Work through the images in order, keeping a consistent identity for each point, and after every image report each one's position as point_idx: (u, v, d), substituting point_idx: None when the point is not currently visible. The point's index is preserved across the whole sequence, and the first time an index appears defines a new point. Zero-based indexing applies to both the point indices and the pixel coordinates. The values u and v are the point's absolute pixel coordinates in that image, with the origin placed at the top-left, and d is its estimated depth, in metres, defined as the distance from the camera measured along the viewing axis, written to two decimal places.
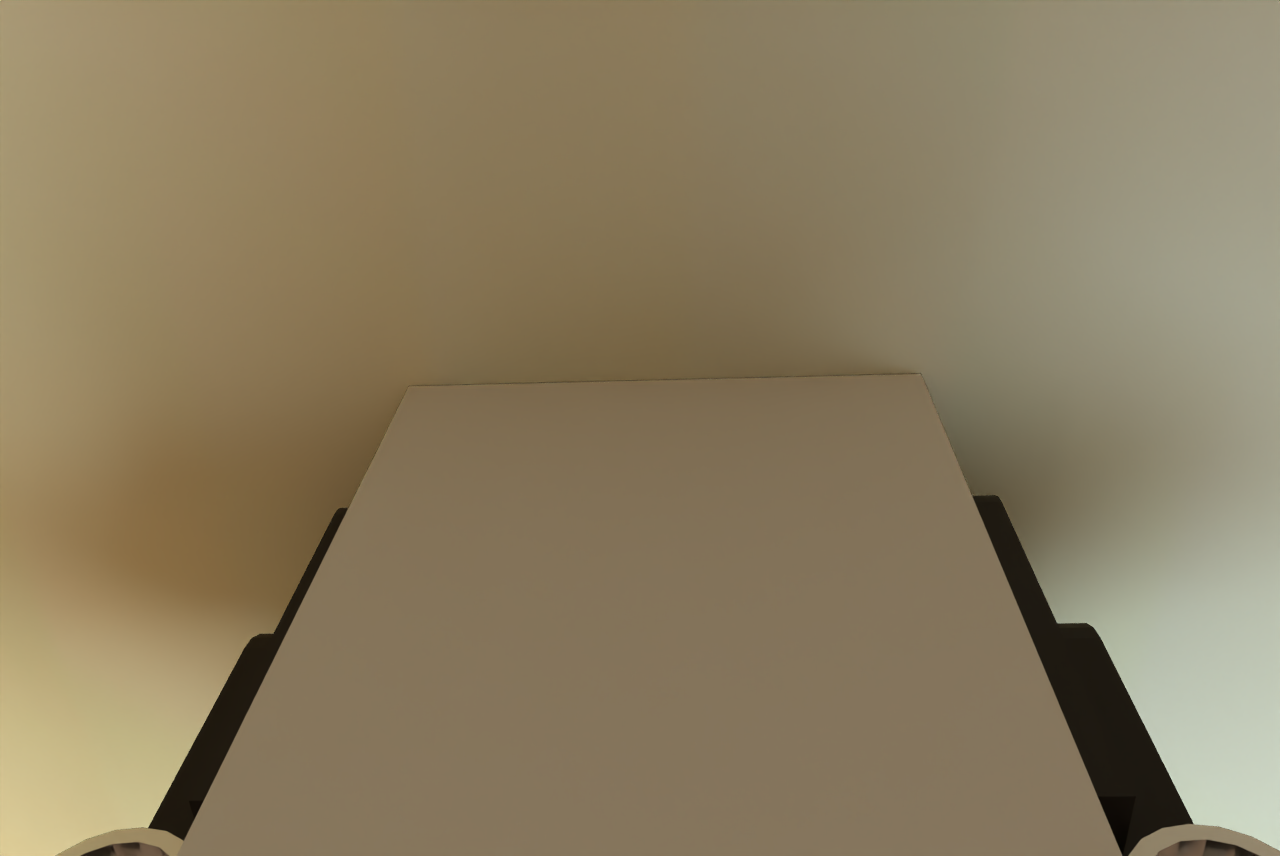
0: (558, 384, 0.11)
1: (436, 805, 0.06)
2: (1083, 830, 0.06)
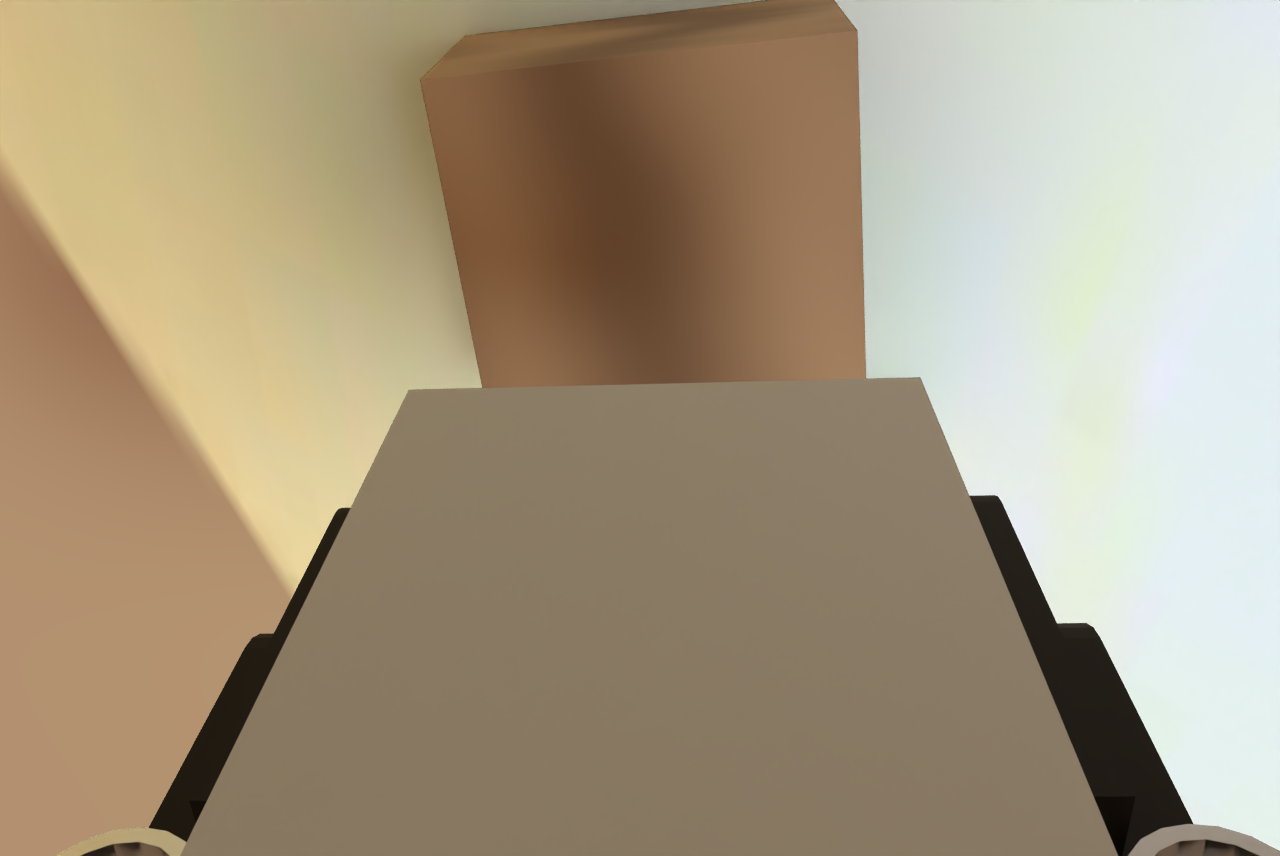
0: (558, 388, 0.11)
1: (435, 811, 0.06)
2: (1081, 836, 0.06)
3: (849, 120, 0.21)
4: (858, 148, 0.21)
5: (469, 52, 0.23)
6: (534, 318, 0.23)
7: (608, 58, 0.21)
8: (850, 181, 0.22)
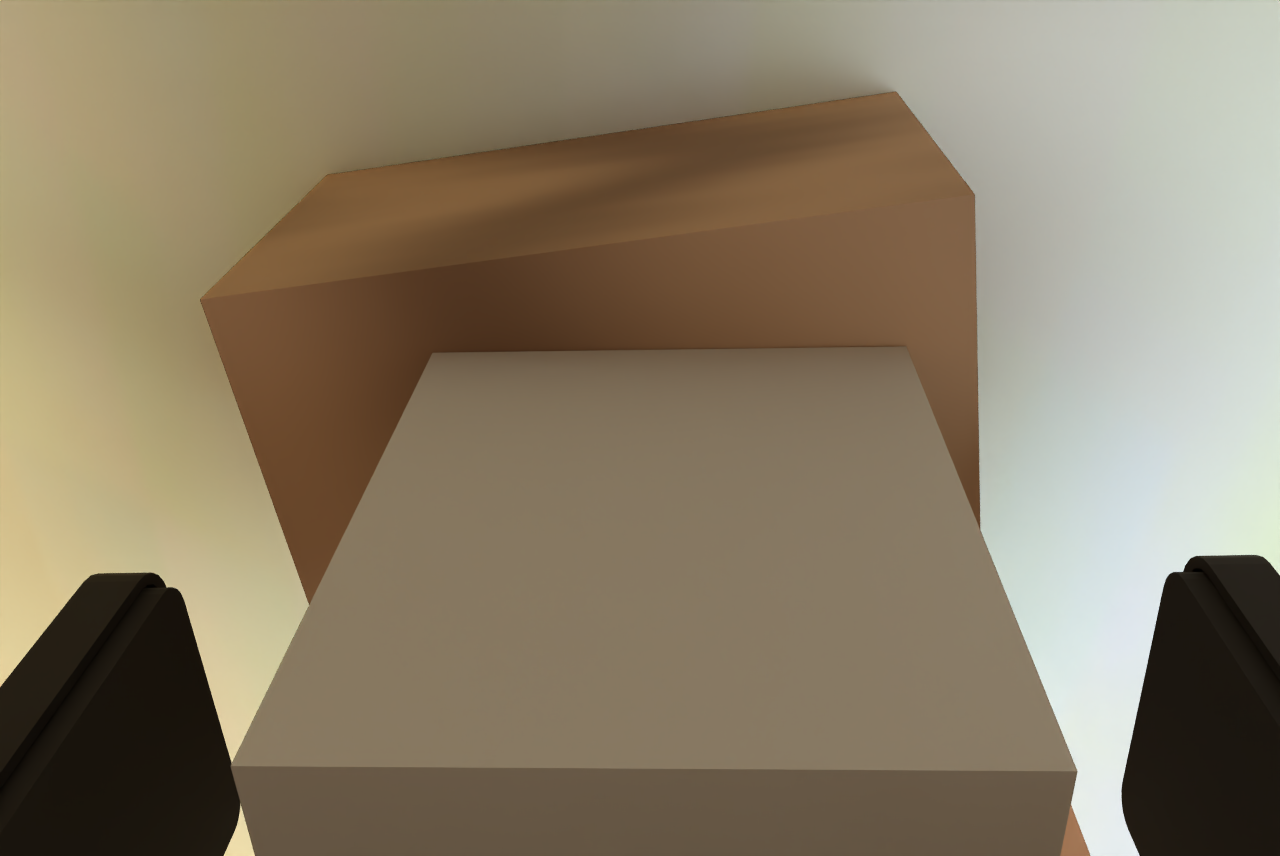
0: (571, 352, 0.12)
1: (469, 699, 0.07)
2: (1033, 723, 0.07)
3: (959, 343, 0.12)
4: (975, 388, 0.12)
5: (313, 220, 0.14)
6: None
7: (526, 255, 0.12)
8: (960, 439, 0.12)
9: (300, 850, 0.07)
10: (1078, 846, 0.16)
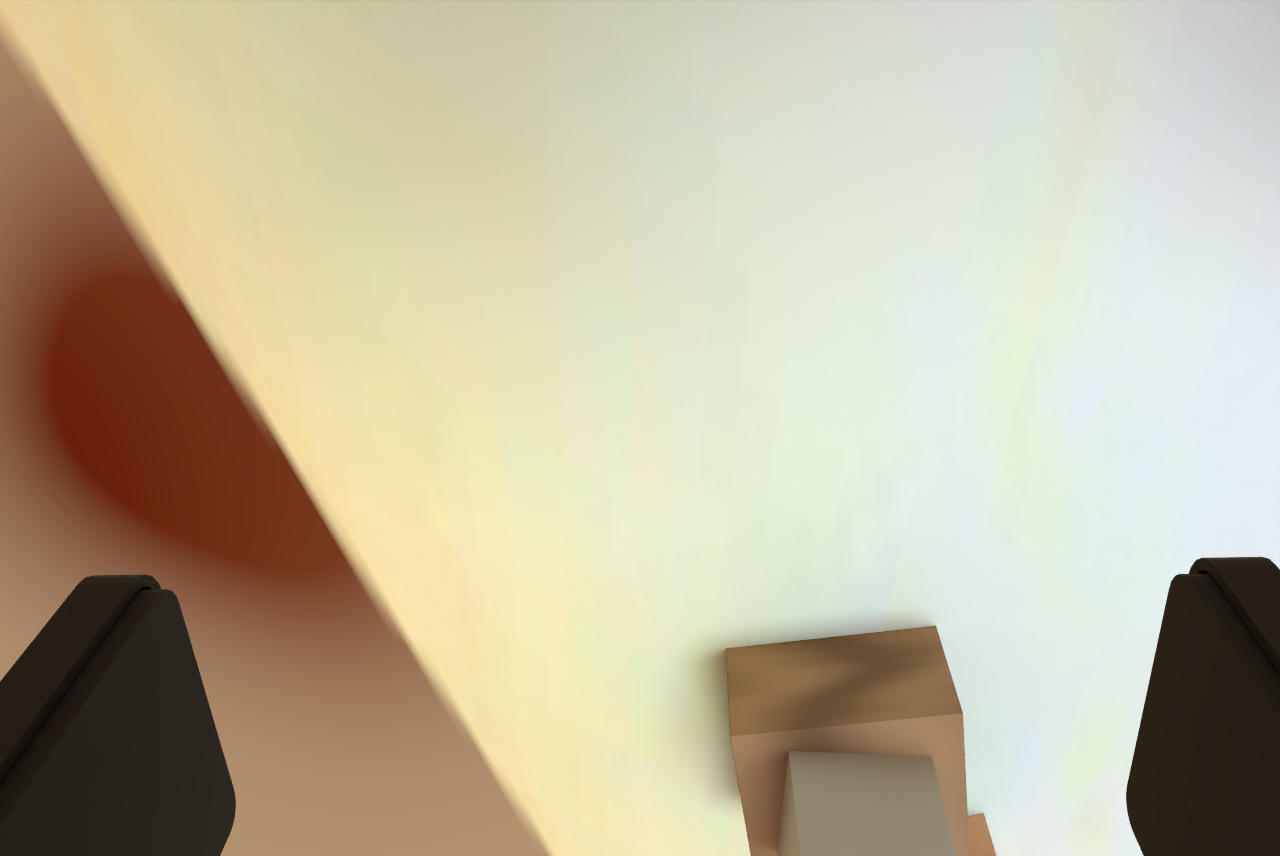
0: (831, 753, 0.40)
1: None
2: None
3: (958, 748, 0.40)
4: (964, 759, 0.40)
5: (741, 687, 0.42)
6: None
7: (831, 726, 0.39)
8: (959, 772, 0.40)
9: None
10: None
